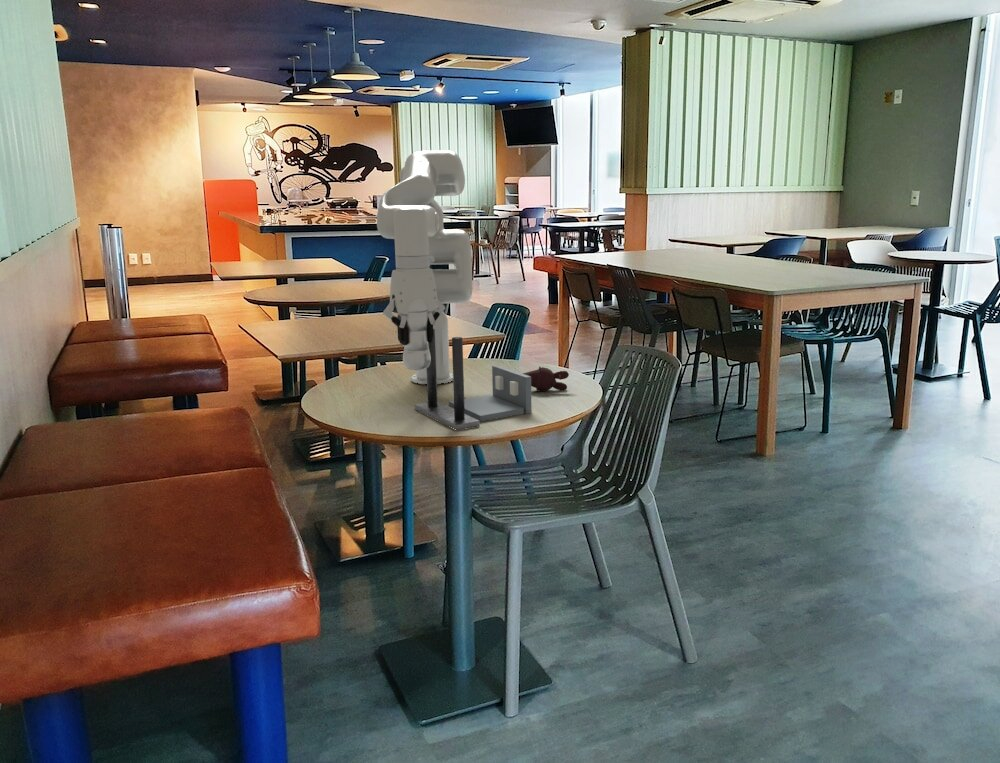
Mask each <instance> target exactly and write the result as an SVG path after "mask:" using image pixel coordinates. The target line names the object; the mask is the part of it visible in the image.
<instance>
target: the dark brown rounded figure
mask: <svg viewBox="0 0 1000 763" xmlns="http://www.w3.org/2000/svg"><path fill="white" fill-rule="evenodd" d="M521 373H522V372H521ZM522 374H525V375H528V376H531V388H532V387H533V388H535V389H536V392H537V393H538V392H547V391H550V390H551V389H552V388H553V389H556V390H558V391H566V390H567V389H568V386H567V384H566V383H563V382H559V381H557V380H565V379H567V378H568V377H569V375H570V374H569V372H568V371H567V370H560V371H556V372H553V371H552V369H549V368H547V367H543V366H542V367H541V366H538V368H537V369H535V370H531V371H530V370H529V371H527V372H523V373H522Z"/></svg>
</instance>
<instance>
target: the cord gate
mask: <svg viewBox="0 0 1000 763" xmlns="http://www.w3.org/2000/svg"><path fill="white" fill-rule="evenodd" d="M428 346H429V350H430V355H431V361H430V365H429V367H428V368H426V371H427V385H426V389H427V390H426V392H427V393H426V394H427V396H426V397H427V401H426V402H425V401H424V402H420V403H415V404H414V410H415V411H417V410H418V411H417V412H419V411H420V412H419V413H421V412H422V413H421V414H423V415H424V414H426V415H428V416H430V417H432V418H434V419H436V420H438V421H440V422H442V423H444V424H446V425H448V426H450V427H452V428H454V429H456V430H458V431H460V430H459V429H464V430H466V429H465V428H469V429H473V428H472V427H475V428H478V427H477V426H479V427H480V421H479V420H477V419H475V418H473V417H470V416H468V415H466V414H465V409H464V399H465V385H464V384H465V383H464V382H465V381H464V380H465V379H464V378H465V377H464V351H463V350H464V344H463V337H461V336H453V337H451V350H452V352H451V353H452V354H451V356H452V373H453V381H452V383H453V385H452V388H453V401H454V409H453V408H451V407H449V405H447V404H444V403H443V402H441V401H439V400H438V384H437V375H436V348H435V329H433V338H432V342H428ZM426 415H425V416H426ZM428 416H427V417H428ZM430 417H429V418H430ZM432 418H431V419H432ZM434 419H433V420H434ZM436 420H435V421H436ZM438 421H437V422H438ZM440 422H439V423H440ZM442 423H441V424H442ZM444 424H443V425H444ZM446 425H445V426H446ZM448 426H447V427H448ZM450 427H449V428H450ZM452 428H451V429H452ZM454 429H453V430H454ZM456 430H455V431H456Z"/></svg>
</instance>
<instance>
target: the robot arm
mask: <svg viewBox="0 0 1000 763" xmlns="http://www.w3.org/2000/svg"><path fill="white" fill-rule="evenodd" d="M465 184H466V178H465V171H464V165H463V162H462V160H461V158H460V156H459V155H458V153H456V152H455V151H452V150H421V151H420V150H419V151H415V152H413V153H411V154H409V155H408V156H407V157H406V160H405V162H404V167H402V168H401V169H400V171H399V183H397V184H396V185H393V186H392V187H390V188H389V189H387V190H386V191H385V192H384V193H383V194H382V196H381V198H380V200H379V204H378V209H377V213H376V214H377V215H376V228H377V232H378V233H379V234H380V236H381V237H383V238H384V239H389V240H390V239H391V240H394V251H395V252H394V253H395V254H394V255H395V256H394V258H395V269H393V270H392V271H391V276H390V277H391V279H390V286H389V288H390V289H389V303H388V304H387V306H386V308H384V310H383V312H382V314H383V316H385V318H387V319H389V320H390V322H392V323H393V324H394V325H395V326H396V328H397V340H398V342H399V344H401V345H403V346H404V345H407V344H408V335H407V328H406V327H405V323H406V319H407V318H406V315H407V314H409V312H408V308H409V306H410V304H411V303H412V302H413V301H414V300H417V299H421V300H423V301H425V302H426V303H427V305H428V320H427V337H428V342H432V338H433V329H435V348H436V375H437V385H442V384H441V383H444V384H448V382H449V383H451V381H452V382H453V372H450V371H451V368H450V342H449V338H450V336H449V320H448V316H447V315H446V313H445V312H444V311H445V310H446V306H445V305H444V304H465V303H467V302H470V300H471V299H472V297H473V265H472V264H473V263H472V261H473V260H472V259H473V258H472V245H471V244H472V242H471V239H470V236H469V234H468V232H466V231H465V230H464V229H445V227H444V211H443V209H442V207H441V206H440V204H439V203H438V202H437V201H436V200H435V197H451V196H452V197H455V196H459V195H461V194H462V193H463V191H464V190H465V189H464V188H465V187H466V186H465ZM431 265H452V266H455V268H449V269H446V268H445V269H442V268H438V269H437V268H435V269H433V268H431V267H430V266H431ZM393 313H395V314H397V315H396V316H395V315H394V314H393ZM415 371H416V373H415V374H413V375H412V376H410V379H411V380H410V381H411V382H413V383H414V384H417V383H418V384H419V385H425V384H427V371H426V368H425V369H421V370H415Z"/></svg>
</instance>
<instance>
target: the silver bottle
mask: <svg viewBox="0 0 1000 763" xmlns="http://www.w3.org/2000/svg"><path fill="white" fill-rule="evenodd" d="M408 312H409V314H407V315H406V318H407V319H406V323H405V327H406V328H407V335H408V344H407V345H403V353H402V362H403V365H404V367H405V368H406V369H407V370H412V371H416V370H421V369H425V368H428V367H429V365H430V361H431V355H430V350H429V346H428V337H427V320H428V305H427V303H426V302H425V301H423V300H421V299H417V300H414V301H413V302H412V303H411V304H410V306H409V308H408Z"/></svg>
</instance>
